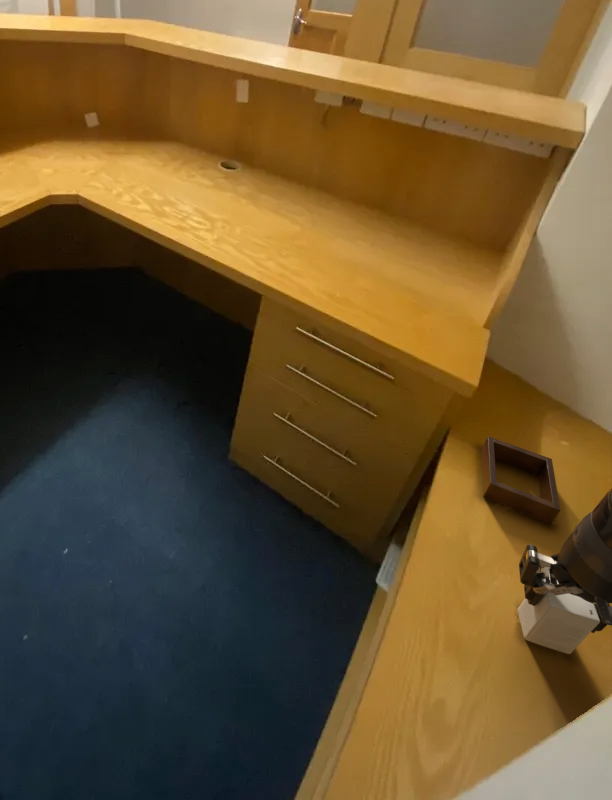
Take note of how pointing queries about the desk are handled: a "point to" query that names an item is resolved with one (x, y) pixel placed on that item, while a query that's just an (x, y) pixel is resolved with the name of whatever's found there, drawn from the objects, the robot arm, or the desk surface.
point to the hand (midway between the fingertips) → (558, 611)
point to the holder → (513, 497)
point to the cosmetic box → (558, 621)
